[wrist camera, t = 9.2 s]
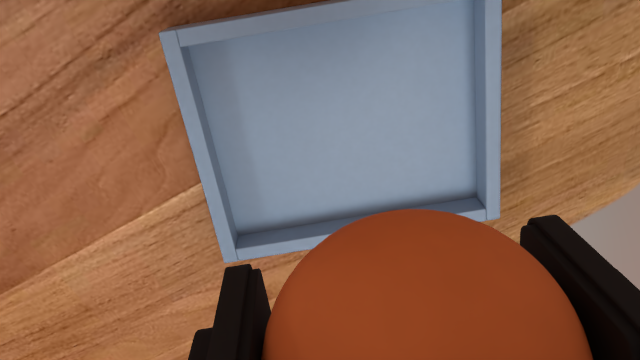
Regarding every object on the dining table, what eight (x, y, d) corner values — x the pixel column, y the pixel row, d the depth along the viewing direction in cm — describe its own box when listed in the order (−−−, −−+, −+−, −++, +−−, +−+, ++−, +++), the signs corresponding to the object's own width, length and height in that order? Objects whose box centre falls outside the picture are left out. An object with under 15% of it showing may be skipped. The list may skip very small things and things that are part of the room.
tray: (486, -27, 23) (502, -26, 21) (487, 203, 28) (500, 218, 26) (167, 27, 23) (157, 32, 21) (228, 245, 28) (224, 263, 26)
